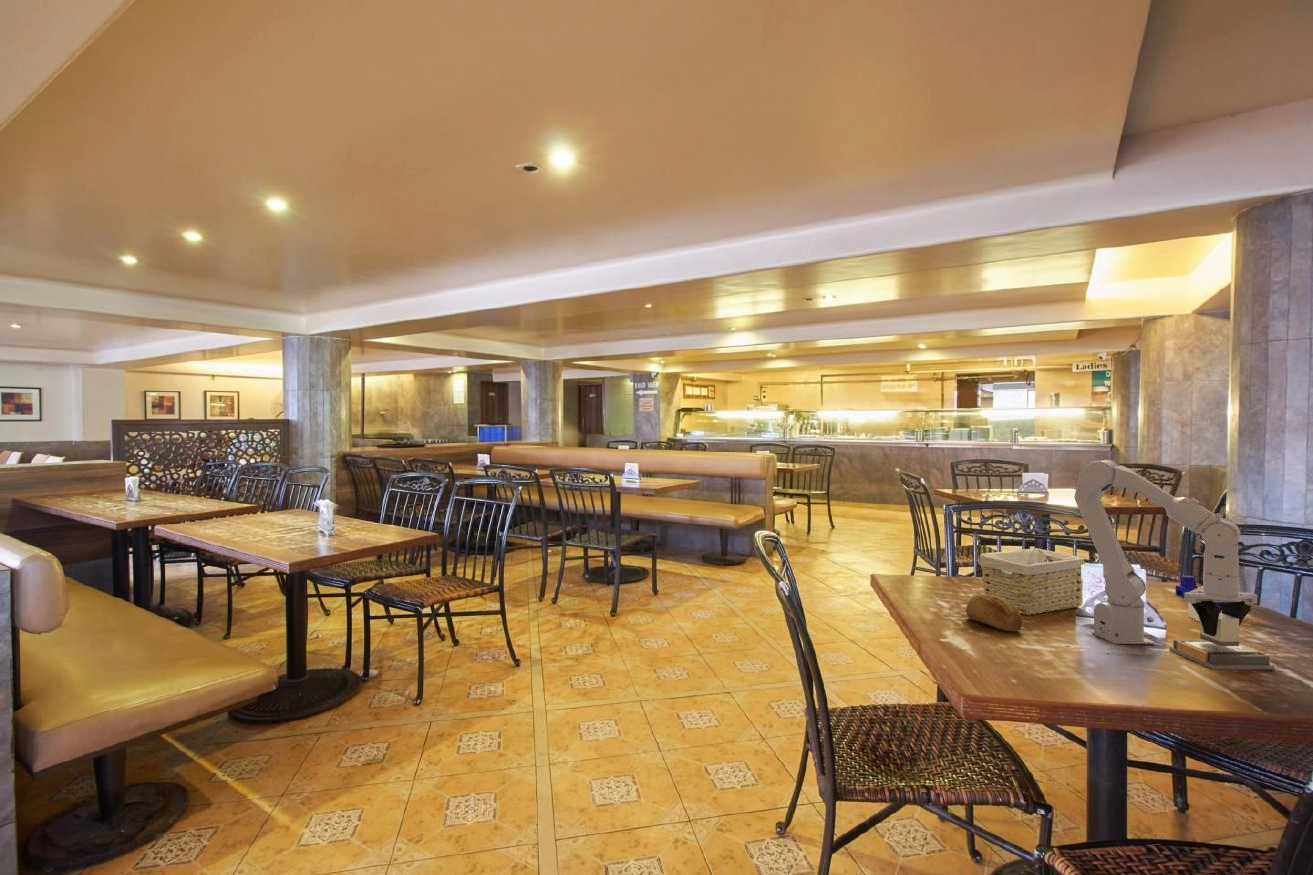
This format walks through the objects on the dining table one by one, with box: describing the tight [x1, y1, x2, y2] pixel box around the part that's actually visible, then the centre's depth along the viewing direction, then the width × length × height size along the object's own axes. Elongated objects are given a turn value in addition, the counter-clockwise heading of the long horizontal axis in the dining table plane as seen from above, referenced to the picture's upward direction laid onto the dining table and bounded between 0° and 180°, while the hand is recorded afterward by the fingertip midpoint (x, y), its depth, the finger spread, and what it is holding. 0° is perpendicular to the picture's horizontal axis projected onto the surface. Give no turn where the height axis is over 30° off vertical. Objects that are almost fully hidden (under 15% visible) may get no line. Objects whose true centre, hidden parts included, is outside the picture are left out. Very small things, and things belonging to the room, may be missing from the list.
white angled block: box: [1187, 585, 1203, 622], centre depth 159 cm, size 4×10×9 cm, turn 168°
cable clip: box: [1175, 575, 1220, 607], centre depth 178 cm, size 12×4×6 cm, turn 2°
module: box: [1199, 612, 1240, 646], centre depth 133 cm, size 4×5×6 cm
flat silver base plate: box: [1183, 642, 1258, 656], centre depth 133 cm, size 11×6×1 cm, turn 90°
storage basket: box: [979, 547, 1085, 616], centre depth 174 cm, size 24×16×15 cm
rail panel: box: [1169, 639, 1275, 670], centre depth 133 cm, size 13×11×3 cm
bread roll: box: [965, 593, 1023, 632], centre depth 156 cm, size 10×15×8 cm, turn 20°
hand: (1219, 634), depth 133 cm, fingers closed on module, 4 cm apart
